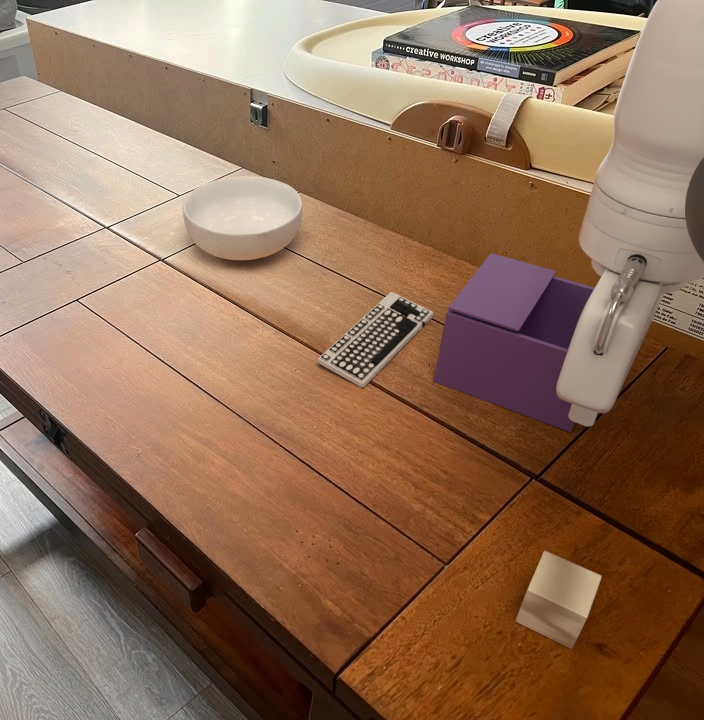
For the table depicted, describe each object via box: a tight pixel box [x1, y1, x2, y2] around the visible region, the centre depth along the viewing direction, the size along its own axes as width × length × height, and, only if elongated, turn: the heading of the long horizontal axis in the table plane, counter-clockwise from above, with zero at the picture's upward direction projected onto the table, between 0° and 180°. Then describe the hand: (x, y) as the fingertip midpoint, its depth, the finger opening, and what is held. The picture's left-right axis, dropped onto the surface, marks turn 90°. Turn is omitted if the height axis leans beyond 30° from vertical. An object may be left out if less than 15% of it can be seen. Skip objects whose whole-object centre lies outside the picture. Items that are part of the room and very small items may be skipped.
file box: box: [432, 252, 595, 433], centre depth 83 cm, size 15×13×10 cm
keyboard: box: [316, 291, 435, 389], centre depth 91 cm, size 17×6×2 cm, turn 141°
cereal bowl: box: [182, 175, 303, 261], centre depth 107 cm, size 17×17×7 cm
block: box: [515, 550, 603, 650], centre depth 61 cm, size 4×4×4 cm
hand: (598, 384), depth 60 cm, fingers open, 8 cm apart
